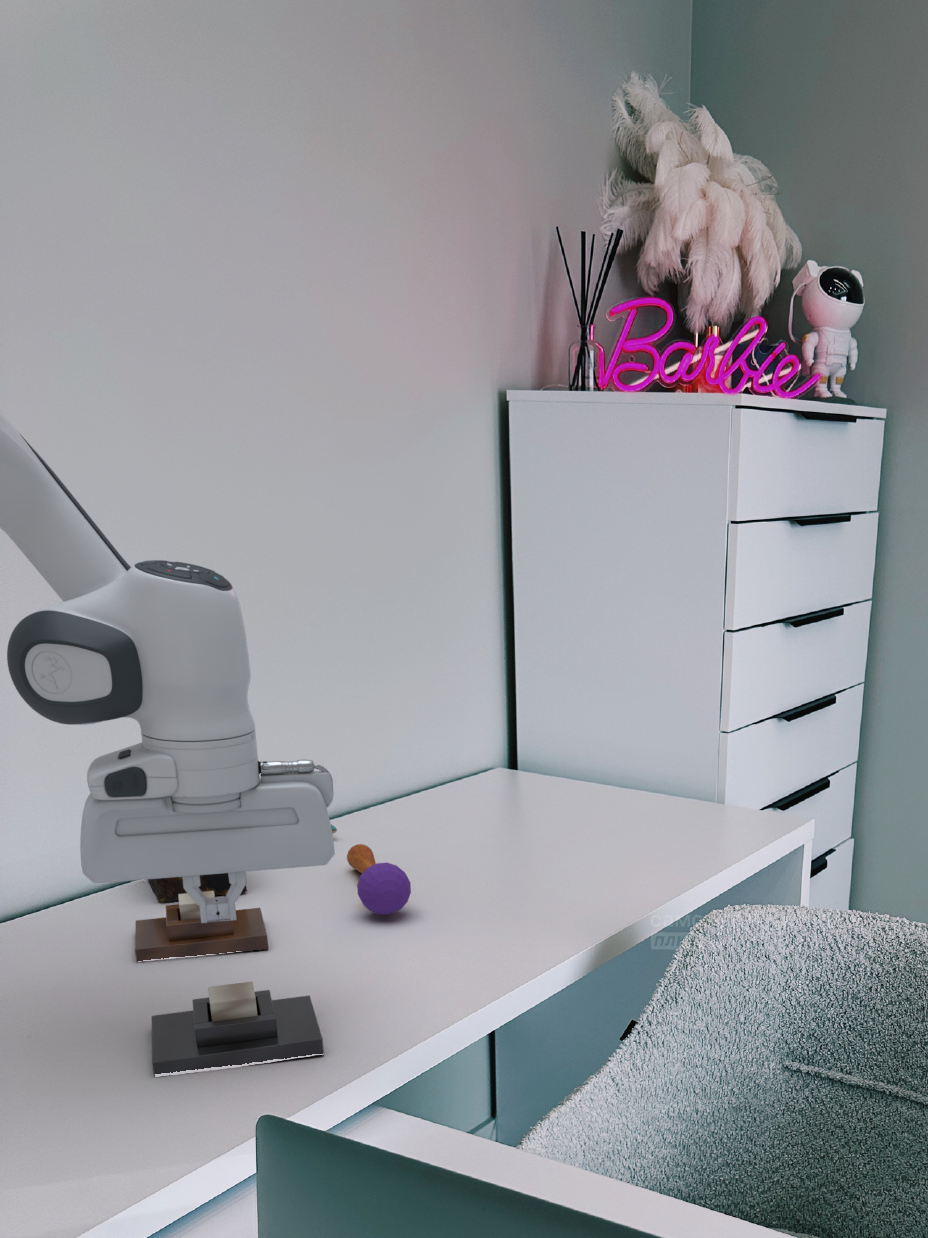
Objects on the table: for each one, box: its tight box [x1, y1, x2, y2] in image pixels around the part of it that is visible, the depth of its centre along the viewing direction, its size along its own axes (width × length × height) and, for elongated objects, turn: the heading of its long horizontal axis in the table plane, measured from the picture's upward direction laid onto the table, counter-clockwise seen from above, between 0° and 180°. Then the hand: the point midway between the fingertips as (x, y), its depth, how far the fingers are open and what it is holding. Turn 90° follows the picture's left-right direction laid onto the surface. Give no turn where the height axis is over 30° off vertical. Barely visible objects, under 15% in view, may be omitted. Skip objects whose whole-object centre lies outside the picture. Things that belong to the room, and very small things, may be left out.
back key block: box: [134, 903, 269, 962], centre depth 135 cm, size 13×9×4 cm
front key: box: [207, 981, 258, 1022], centre depth 112 cm, size 4×4×2 cm
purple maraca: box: [346, 843, 412, 916], centre depth 151 cm, size 6×6×20 cm
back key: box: [178, 891, 216, 920], centre depth 134 cm, size 4×4×2 cm
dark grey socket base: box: [151, 989, 325, 1075], centre depth 113 cm, size 14×10×4 cm
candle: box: [147, 873, 248, 903], centre depth 150 cm, size 10×10×10 cm
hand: (218, 919), depth 109 cm, fingers closed
